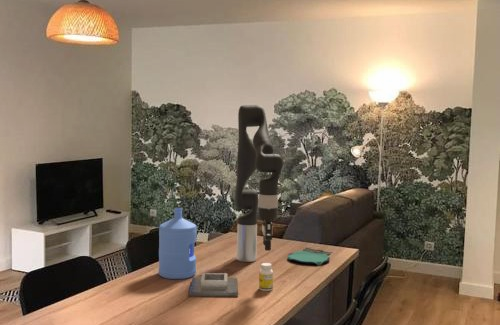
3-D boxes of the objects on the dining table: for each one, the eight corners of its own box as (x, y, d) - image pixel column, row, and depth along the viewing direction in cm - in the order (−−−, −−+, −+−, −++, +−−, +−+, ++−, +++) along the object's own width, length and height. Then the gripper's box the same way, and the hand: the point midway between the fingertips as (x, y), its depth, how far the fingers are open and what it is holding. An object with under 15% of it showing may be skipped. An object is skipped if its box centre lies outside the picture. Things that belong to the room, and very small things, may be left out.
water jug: (165, 281, 200) (166, 212, 198) (153, 271, 214) (154, 206, 212) (201, 277, 207) (202, 210, 205) (188, 267, 221) (189, 204, 219)
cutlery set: (281, 262, 233) (281, 257, 233) (302, 249, 261) (302, 245, 260) (322, 268, 225) (322, 263, 225) (339, 254, 252) (340, 250, 252)
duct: (192, 281, 202) (192, 270, 202) (237, 281, 203) (237, 270, 202) (189, 296, 184) (189, 284, 184) (238, 296, 185) (238, 284, 185)
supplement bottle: (258, 286, 197) (258, 262, 196) (271, 286, 197) (272, 262, 197) (259, 291, 191) (260, 266, 191) (273, 291, 192) (274, 266, 191)
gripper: (257, 203, 199) (256, 243, 200) (259, 208, 185) (258, 252, 186) (275, 203, 199) (274, 243, 200) (279, 209, 185) (278, 252, 186)
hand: (266, 247), depth 193 cm, fingers open, 8 cm apart
